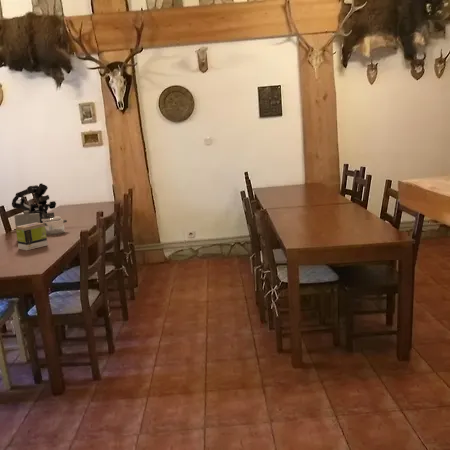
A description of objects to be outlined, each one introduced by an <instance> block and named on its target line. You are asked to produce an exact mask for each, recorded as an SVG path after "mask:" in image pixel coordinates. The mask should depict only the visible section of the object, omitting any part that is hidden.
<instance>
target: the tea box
mask: <svg viewBox="0 0 450 450" xmlns="http://www.w3.org/2000/svg"><path fill="white" fill-rule="evenodd" d="M15 232H16V233H17V234H16V239H17V240H18V241H17V245H18V246H17V247H18V249H19V250H21V251H22V250H23V251H30V250H34V249H37V248H42V247H46V246H48V245H49V244H48V235H47V234H46V229H45V224H44V222H43V223H37V222H36V223H31V224H26V225H21V226H17V227H16V226H15Z"/></svg>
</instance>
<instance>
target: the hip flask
mask: <svg viewBox="0 0 450 450" xmlns="http://www.w3.org/2000/svg"><path fill="white" fill-rule="evenodd" d="M13 217H14V225H15V228H16V227H17V226H21V225H26V224H31V223H36V222H37V223H40V216H39V213H34V214H31V213H29V211H24V210H23V213H20V214H14V216H13ZM16 235H17V233H16ZM17 242H18V240H17Z"/></svg>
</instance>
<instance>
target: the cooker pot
mask: <svg viewBox="0 0 450 450" xmlns="http://www.w3.org/2000/svg"><path fill="white" fill-rule="evenodd" d="M43 223H44V224H45V229H46V236H50V235H51V236H54V235H61V234H65V232H66V231H65V223H68V220H67V219H63V218H61V219H60V220H56V221H43Z"/></svg>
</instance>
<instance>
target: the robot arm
mask: <svg viewBox="0 0 450 450" xmlns="http://www.w3.org/2000/svg"><path fill="white" fill-rule="evenodd" d="M47 190H48V185H46V184H43V183H39V185H37V184H36V185H34V184H33V185H29V186H28V187H27V188H26V189H23V190H21V191H17V192H16V193H15V196H14V197H13V198H12V201H11V207H12V208H13V209H18V210H19V209H20V210H23V211H29V214H34V213H39V216H40V223H44V221H42V220H41V219H42V218H43V215H42V214H45V213H48V210H49V209H50V210H52V209H55V208H56V206H57V203H56V202H57V201H56V200H55V201H54V200H52V201H49V203H48V200H50V195H49V194H46V192H47ZM31 194H33V197H32V198H33V199H35V201H36V203H31V204H29V205H28V204H26V203H25V198H24V197H25V196H28V195H31ZM19 198H20V199H19Z"/></svg>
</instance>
